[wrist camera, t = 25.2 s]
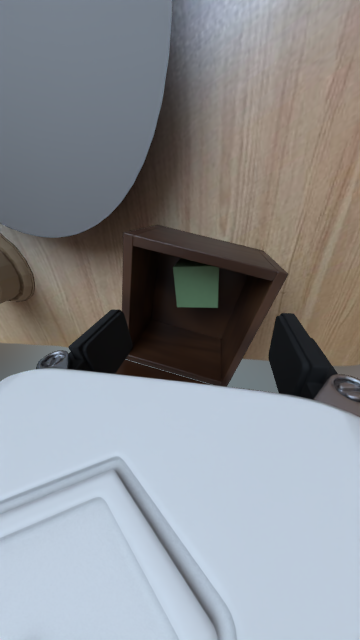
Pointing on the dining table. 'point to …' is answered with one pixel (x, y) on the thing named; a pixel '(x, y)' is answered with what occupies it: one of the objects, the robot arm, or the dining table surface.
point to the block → (196, 284)
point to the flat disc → (76, 107)
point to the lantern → (14, 274)
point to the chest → (194, 323)
